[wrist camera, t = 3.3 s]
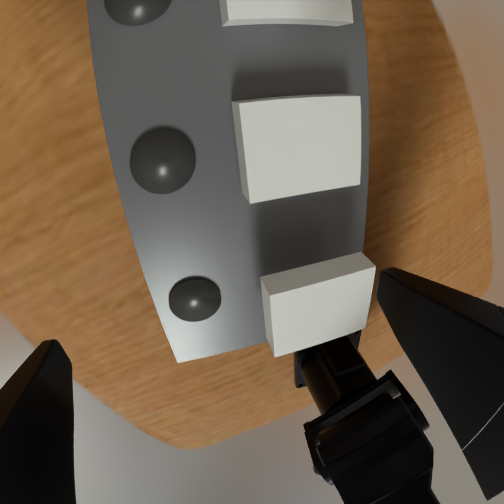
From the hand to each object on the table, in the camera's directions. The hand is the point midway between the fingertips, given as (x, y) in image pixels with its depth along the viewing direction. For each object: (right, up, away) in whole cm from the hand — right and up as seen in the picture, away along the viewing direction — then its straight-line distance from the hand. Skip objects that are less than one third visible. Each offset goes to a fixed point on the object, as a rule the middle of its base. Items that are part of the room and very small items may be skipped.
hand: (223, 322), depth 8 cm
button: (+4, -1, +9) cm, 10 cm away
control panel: (0, +8, +9) cm, 12 cm away
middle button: (+3, +7, +7) cm, 10 cm away
